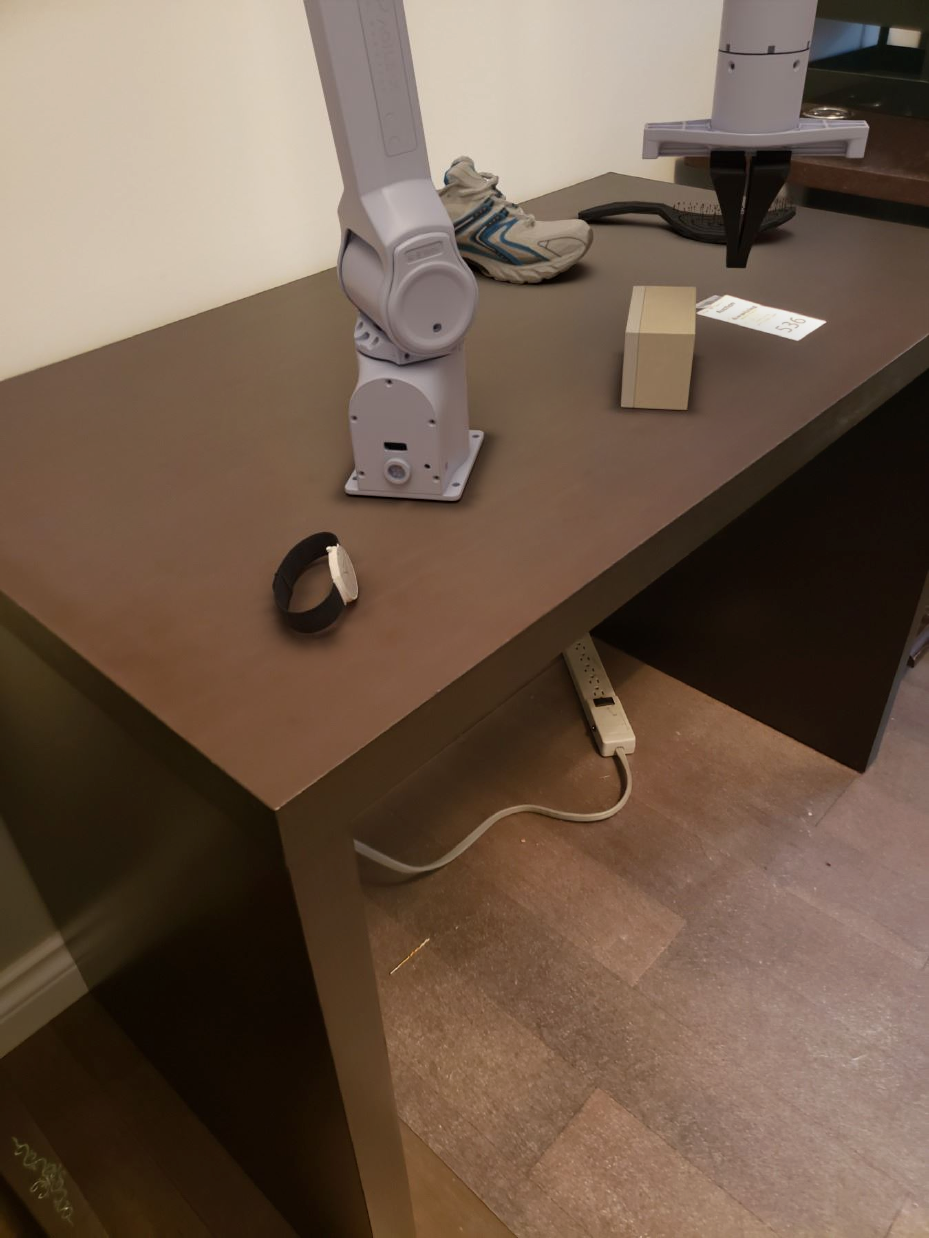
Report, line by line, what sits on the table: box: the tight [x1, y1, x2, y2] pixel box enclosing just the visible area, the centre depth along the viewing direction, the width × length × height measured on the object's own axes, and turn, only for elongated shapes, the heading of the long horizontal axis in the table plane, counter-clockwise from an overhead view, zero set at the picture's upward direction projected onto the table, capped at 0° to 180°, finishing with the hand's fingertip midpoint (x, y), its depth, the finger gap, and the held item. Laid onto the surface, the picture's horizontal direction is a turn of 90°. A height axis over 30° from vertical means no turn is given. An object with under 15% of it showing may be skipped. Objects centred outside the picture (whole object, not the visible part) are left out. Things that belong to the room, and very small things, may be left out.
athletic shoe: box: [436, 155, 595, 285], centre depth 97 cm, size 10×23×12 cm, turn 78°
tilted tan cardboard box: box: [620, 285, 697, 411], centre depth 73 cm, size 10×5×6 cm, turn 169°
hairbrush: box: [577, 195, 797, 244], centre depth 106 cm, size 8×4×25 cm
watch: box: [271, 531, 359, 635], centre depth 53 cm, size 8×5×4 cm, turn 3°
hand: (735, 264), depth 69 cm, fingers closed
